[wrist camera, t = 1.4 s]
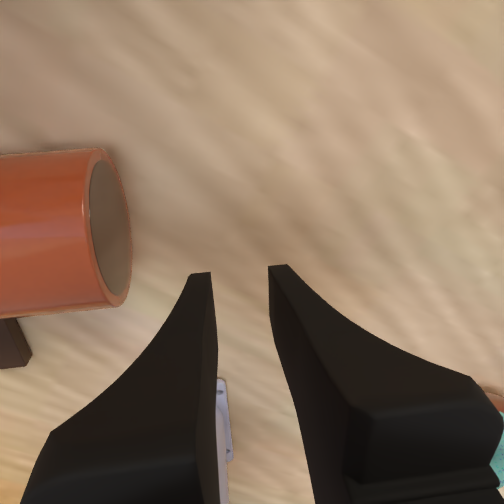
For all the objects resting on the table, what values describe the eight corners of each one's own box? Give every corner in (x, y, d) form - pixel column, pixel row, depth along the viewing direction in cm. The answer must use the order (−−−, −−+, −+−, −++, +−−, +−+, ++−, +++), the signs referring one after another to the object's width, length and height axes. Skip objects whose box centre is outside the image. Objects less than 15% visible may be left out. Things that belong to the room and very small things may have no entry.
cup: (1, 268, 21) (-77, 363, 15) (-56, 141, 18) (-186, 200, 12) (138, 255, 22) (116, 341, 16) (110, 130, 18) (68, 180, 12)
